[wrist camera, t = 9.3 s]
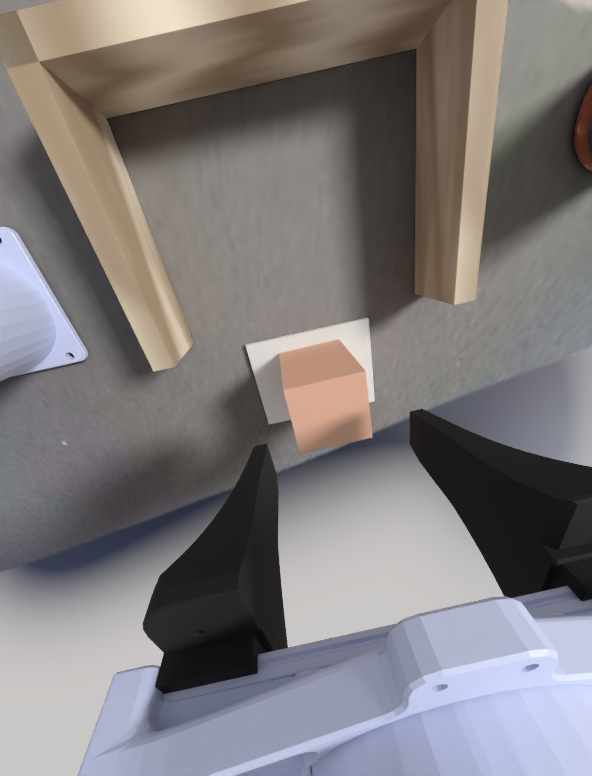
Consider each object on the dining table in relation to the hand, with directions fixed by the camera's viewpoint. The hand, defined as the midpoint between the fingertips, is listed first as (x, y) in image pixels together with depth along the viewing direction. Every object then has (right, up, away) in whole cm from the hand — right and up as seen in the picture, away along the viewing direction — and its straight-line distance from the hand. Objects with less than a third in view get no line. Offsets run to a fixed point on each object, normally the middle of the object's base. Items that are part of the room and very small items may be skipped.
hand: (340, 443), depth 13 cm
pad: (-1, +4, +8) cm, 9 cm away
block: (-1, +4, +7) cm, 8 cm away
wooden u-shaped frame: (-3, +13, +3) cm, 14 cm away
